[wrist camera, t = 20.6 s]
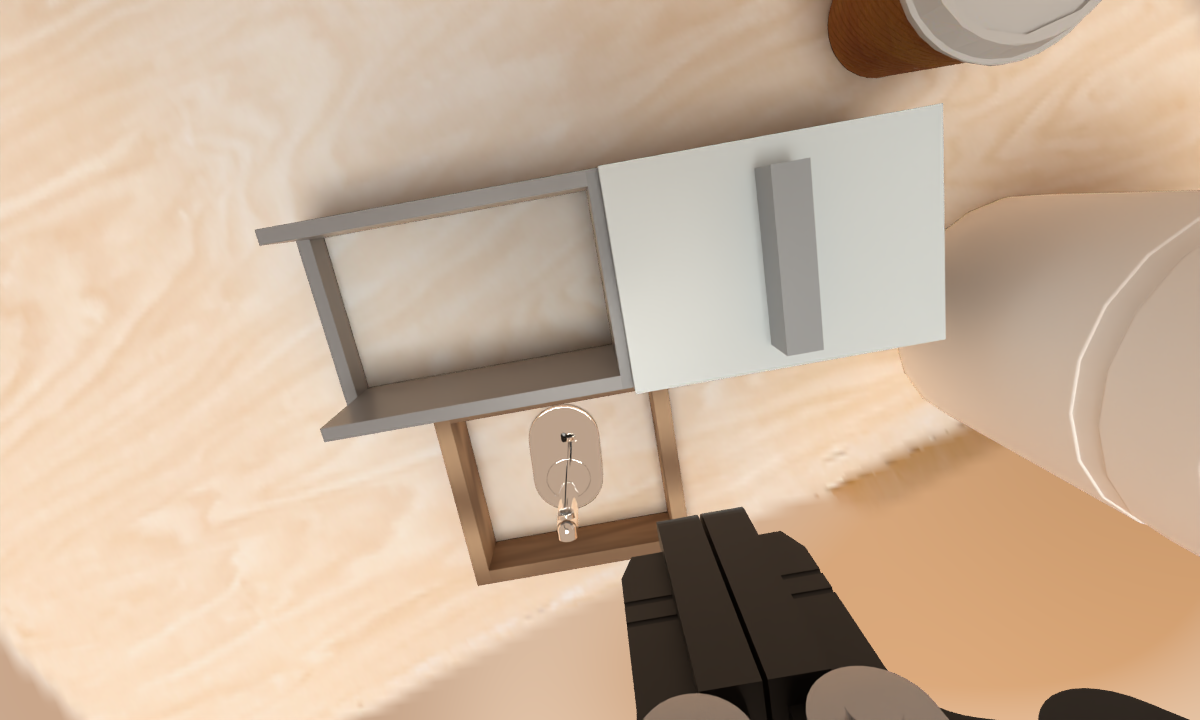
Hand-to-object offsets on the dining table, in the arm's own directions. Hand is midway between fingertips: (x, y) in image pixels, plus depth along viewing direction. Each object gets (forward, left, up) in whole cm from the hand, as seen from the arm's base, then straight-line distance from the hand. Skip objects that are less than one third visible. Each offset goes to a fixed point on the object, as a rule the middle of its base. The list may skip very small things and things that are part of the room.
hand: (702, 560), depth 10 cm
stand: (+11, -5, -29) cm, 32 cm away
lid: (-2, +9, -21) cm, 23 cm away
